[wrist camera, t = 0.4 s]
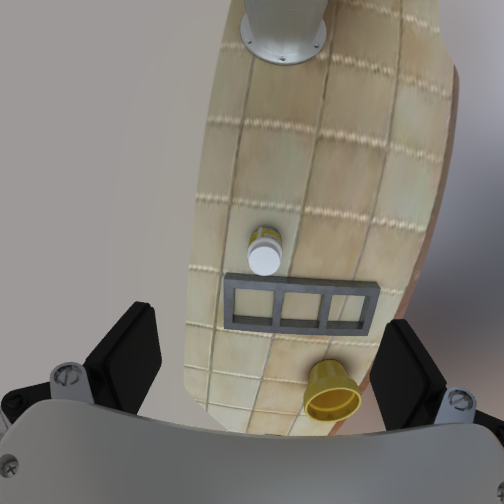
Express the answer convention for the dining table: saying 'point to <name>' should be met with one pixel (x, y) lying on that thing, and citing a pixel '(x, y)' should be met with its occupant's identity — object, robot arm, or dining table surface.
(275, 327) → the grey long slotted tray
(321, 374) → the plant pot
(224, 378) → the dining table surface
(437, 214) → the dining table surface
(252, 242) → the supplement bottle
